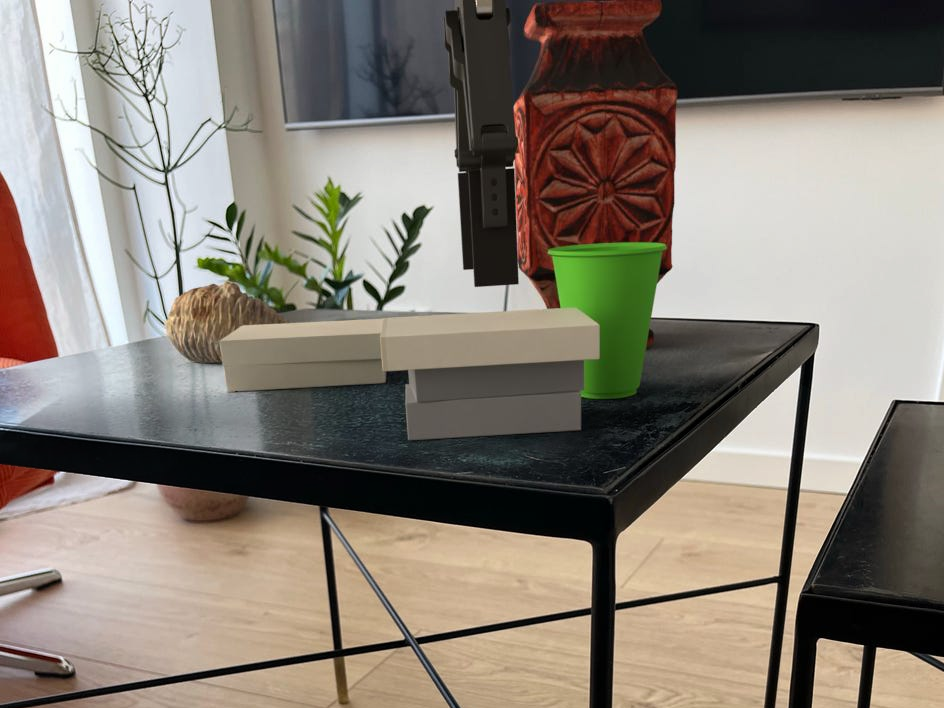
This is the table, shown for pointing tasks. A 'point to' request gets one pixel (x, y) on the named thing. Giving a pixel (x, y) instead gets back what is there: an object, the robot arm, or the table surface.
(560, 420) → the grey books
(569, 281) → the cup
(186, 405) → the table surface
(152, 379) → the table surface
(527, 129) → the vase
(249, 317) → the seashell
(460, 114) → the robot arm
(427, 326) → the white book
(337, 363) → the white pile
